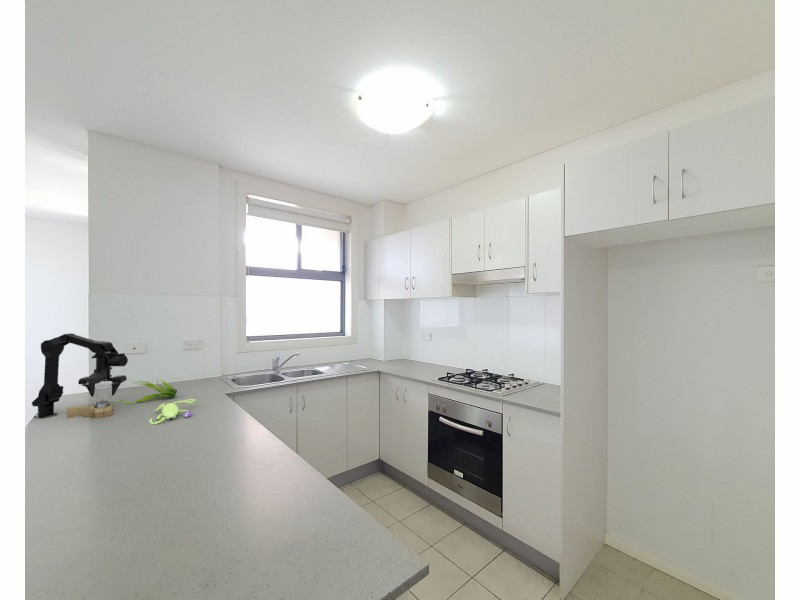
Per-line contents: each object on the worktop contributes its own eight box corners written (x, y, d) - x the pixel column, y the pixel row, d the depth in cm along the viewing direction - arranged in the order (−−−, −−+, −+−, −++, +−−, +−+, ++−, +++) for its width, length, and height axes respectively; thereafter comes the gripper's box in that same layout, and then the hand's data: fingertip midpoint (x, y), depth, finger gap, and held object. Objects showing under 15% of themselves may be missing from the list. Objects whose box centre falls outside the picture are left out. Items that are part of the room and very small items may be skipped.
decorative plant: (127, 397, 201) (128, 374, 202) (179, 396, 205) (179, 373, 205) (105, 407, 184) (106, 381, 184) (162, 405, 187) (162, 380, 188)
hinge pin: (93, 416, 168) (93, 403, 168) (104, 413, 173) (104, 400, 173) (99, 417, 167) (99, 404, 167) (110, 414, 172) (111, 401, 172)
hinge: (66, 417, 166) (66, 407, 166) (102, 407, 182) (102, 398, 182) (89, 421, 161) (89, 411, 161) (124, 411, 176) (124, 402, 176)
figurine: (196, 405, 189) (196, 396, 189) (192, 420, 165) (192, 409, 166) (157, 410, 180) (157, 400, 180) (147, 426, 157) (147, 415, 157)
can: (95, 407, 182) (96, 386, 182) (92, 404, 187) (93, 384, 187) (113, 404, 188) (113, 383, 188) (110, 401, 193) (110, 381, 193)
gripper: (70, 370, 160) (69, 401, 160) (114, 368, 164) (113, 399, 164) (86, 365, 171) (86, 395, 171) (127, 364, 175) (126, 393, 175)
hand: (102, 396), depth 170 cm, fingers open, 9 cm apart
